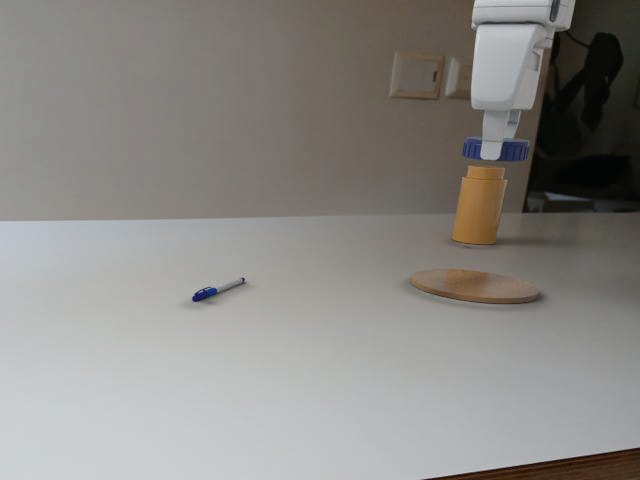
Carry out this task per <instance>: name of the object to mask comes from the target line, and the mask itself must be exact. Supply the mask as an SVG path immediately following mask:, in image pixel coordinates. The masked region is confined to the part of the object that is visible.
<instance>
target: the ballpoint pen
mask: <svg viewBox="0 0 640 480" xmlns="http://www.w3.org/2000/svg"><path fill="white" fill-rule="evenodd" d="M245 281H246V278H245V277H238V278H235V279H232V280H230V281H228V282H225V283H222V284H219V285H217V286H214V287H212V286H206V287H203V288H201V289H199V290H198V291H196V292H194V293H193V295H192V297H191V301H192V302H199V301H202V300H205V299H208V298H210V297H212V296H214V295H217V294H218V293H221V292H223V291H226V290H228V289H231V288H234V287H236V286H238V285H241V284H243V283H244V282H245Z"/></svg>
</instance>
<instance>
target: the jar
mask: <svg viewBox="0 0 640 480" xmlns="http://www.w3.org/2000/svg"><path fill="white" fill-rule="evenodd" d="M505 174H506V167H503V166H497V165H486V164H469V165H468V166H467V172H466V175H463V176H461V180H460V181H461V182H460V187H459V193H458V199H457V206H456V210H455V211H456V212H455V217H454V224H453V230H452V236H451V240H453V241H455V242H458V243H461V244H462V243H463V244H471V245H483V246H486V245H487V246H489V245H494V244H496V242H497V237H498V232H499V227H500V223H501V222H500V221H501V215H502V210H503V206H504V201H505V195H506V189H507V185H508V179H507V178H504V177H505V176H504V175H505Z"/></svg>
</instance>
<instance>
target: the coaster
mask: <svg viewBox="0 0 640 480" xmlns="http://www.w3.org/2000/svg"><path fill="white" fill-rule="evenodd" d="M410 283H411V284H412V286H414V287H415V288H417V289H418V290H421V291H423V292H426V293H429V294H433V295H435V296H440V297H443V298H448V299H454V300H459V301H466V302H473V303H483V304H504V305H507V304H508V305H509V304H522V303H524V304H525V303H529V302H533V301H535V300H537V299H538V297H539V294H540V290H539V288H538V287H537V286H536V285H534V284H532V283H530V282H528V281H525V280H522V279H520V278H517V277H516V278H515V277H512V276H509V275H503V274H499V273H493V272H487V271H479V270H471V269H456V268H453V269H452V268H434V269H433V268H432V269H423V270H420V271H416V272H414V273H413V274H412V275H411V277H410Z"/></svg>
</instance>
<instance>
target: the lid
mask: <svg viewBox="0 0 640 480" xmlns="http://www.w3.org/2000/svg"><path fill="white" fill-rule="evenodd" d="M503 141H504V144H503V149H502V154H501V157H500V158H499V159H497V160H488V161H492V162H513V163H514V162H515V163H516V162H525V161H527V160H528V157H529V153H530V147H531V146H530V143H531V141H530V140H528V139H522V138H515V137H514V138H504V140H503ZM482 142H483V136H466V137H465V141H464V142H463V147H462V153H461V156H462V157H463V158H466V159H472V160H480V161H485V160H484V159H482V158H481V156H480V153H481V147H482Z"/></svg>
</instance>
